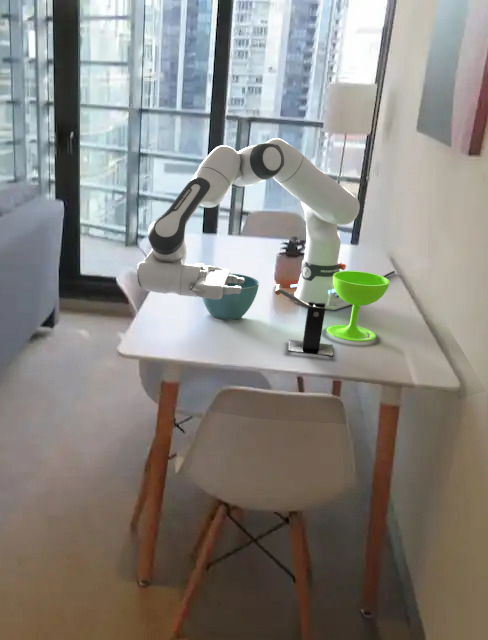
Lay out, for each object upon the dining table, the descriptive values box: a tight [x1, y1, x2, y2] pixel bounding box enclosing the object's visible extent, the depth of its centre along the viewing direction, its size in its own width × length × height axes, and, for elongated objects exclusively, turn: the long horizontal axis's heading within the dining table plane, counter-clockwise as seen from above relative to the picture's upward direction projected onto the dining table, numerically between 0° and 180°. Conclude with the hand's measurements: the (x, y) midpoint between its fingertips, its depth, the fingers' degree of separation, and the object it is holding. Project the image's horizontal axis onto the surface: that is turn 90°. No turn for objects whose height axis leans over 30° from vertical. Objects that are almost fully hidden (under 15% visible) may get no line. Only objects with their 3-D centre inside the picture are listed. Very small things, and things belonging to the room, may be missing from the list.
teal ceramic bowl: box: [201, 272, 260, 321], centre depth 224 cm, size 18×18×12 cm
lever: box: [274, 283, 318, 310], centre depth 197 cm, size 14×6×2 cm, turn 77°
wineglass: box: [326, 270, 391, 342], centre depth 212 cm, size 16×16×18 cm
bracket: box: [287, 302, 334, 357], centre depth 199 cm, size 12×9×14 cm
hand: (242, 285), depth 199 cm, fingers open, 8 cm apart
